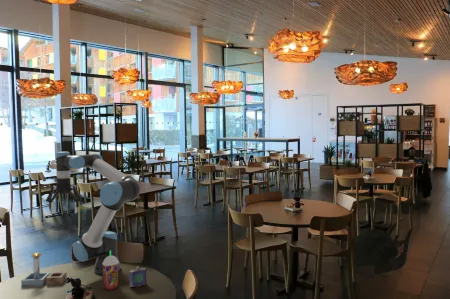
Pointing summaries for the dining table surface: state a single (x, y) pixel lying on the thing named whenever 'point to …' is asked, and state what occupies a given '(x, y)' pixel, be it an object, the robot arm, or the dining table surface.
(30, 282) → the tray
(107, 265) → the smoothie
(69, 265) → the dining table surface
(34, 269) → the pin
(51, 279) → the block
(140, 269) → the flask
